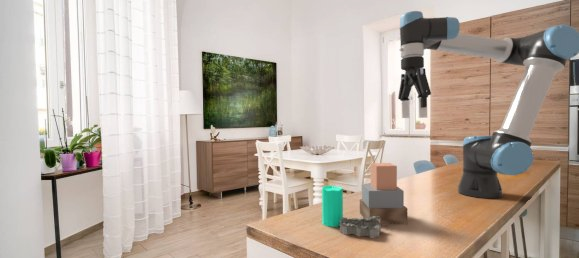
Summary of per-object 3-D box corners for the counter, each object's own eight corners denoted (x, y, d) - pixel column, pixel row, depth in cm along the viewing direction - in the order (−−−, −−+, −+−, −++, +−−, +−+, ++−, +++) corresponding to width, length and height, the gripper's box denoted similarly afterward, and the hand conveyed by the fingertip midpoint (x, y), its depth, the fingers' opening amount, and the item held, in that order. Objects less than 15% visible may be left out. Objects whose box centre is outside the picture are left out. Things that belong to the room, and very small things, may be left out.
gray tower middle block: (393, 199, 99) (393, 183, 99) (403, 208, 89) (403, 190, 89) (361, 199, 99) (361, 183, 99) (368, 208, 89) (368, 190, 89)
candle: (318, 221, 92) (318, 181, 91) (335, 218, 94) (335, 179, 94) (329, 228, 86) (328, 185, 86) (347, 224, 89) (346, 183, 88)
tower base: (393, 213, 100) (393, 198, 100) (407, 225, 89) (407, 208, 89) (359, 214, 100) (359, 199, 99) (369, 226, 89) (369, 208, 88)
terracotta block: (389, 185, 97) (389, 163, 96) (396, 189, 91) (396, 165, 90) (370, 185, 96) (370, 163, 96) (376, 189, 90) (376, 166, 90)
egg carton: (382, 230, 84) (382, 216, 84) (378, 240, 77) (378, 224, 77) (344, 225, 89) (343, 211, 89) (337, 234, 82) (336, 219, 82)
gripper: (388, 64, 121) (390, 118, 121) (418, 49, 96) (419, 117, 96) (407, 63, 121) (408, 117, 122) (441, 49, 96) (443, 117, 97)
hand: (413, 117), depth 109 cm, fingers open, 13 cm apart
